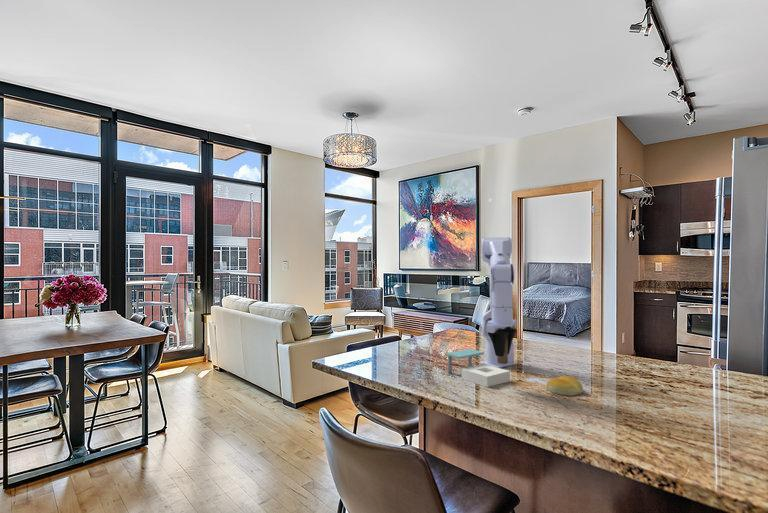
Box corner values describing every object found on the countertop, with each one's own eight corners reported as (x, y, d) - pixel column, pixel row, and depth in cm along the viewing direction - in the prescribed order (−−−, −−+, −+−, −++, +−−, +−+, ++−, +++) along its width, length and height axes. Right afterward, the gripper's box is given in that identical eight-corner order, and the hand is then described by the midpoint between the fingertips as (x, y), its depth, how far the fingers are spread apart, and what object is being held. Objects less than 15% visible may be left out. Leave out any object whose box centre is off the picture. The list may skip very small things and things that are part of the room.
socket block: (484, 373, 126) (484, 363, 126) (510, 381, 118) (509, 371, 118) (461, 378, 120) (461, 368, 120) (487, 387, 112) (487, 376, 112)
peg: (501, 360, 113) (501, 336, 113) (509, 362, 111) (509, 337, 111) (495, 362, 112) (495, 337, 112) (503, 364, 109) (503, 339, 109)
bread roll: (540, 389, 110) (540, 375, 110) (563, 385, 114) (563, 371, 114) (565, 399, 103) (565, 383, 103) (589, 394, 107) (588, 379, 107)
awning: (470, 368, 132) (470, 348, 132) (483, 372, 127) (483, 352, 127) (445, 373, 126) (445, 353, 126) (459, 377, 121) (459, 356, 121)
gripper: (500, 303, 120) (500, 348, 119) (476, 307, 109) (476, 357, 109) (523, 305, 115) (523, 352, 115) (500, 309, 104) (500, 361, 104)
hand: (502, 354), depth 111 cm, fingers closed on peg, 3 cm apart
